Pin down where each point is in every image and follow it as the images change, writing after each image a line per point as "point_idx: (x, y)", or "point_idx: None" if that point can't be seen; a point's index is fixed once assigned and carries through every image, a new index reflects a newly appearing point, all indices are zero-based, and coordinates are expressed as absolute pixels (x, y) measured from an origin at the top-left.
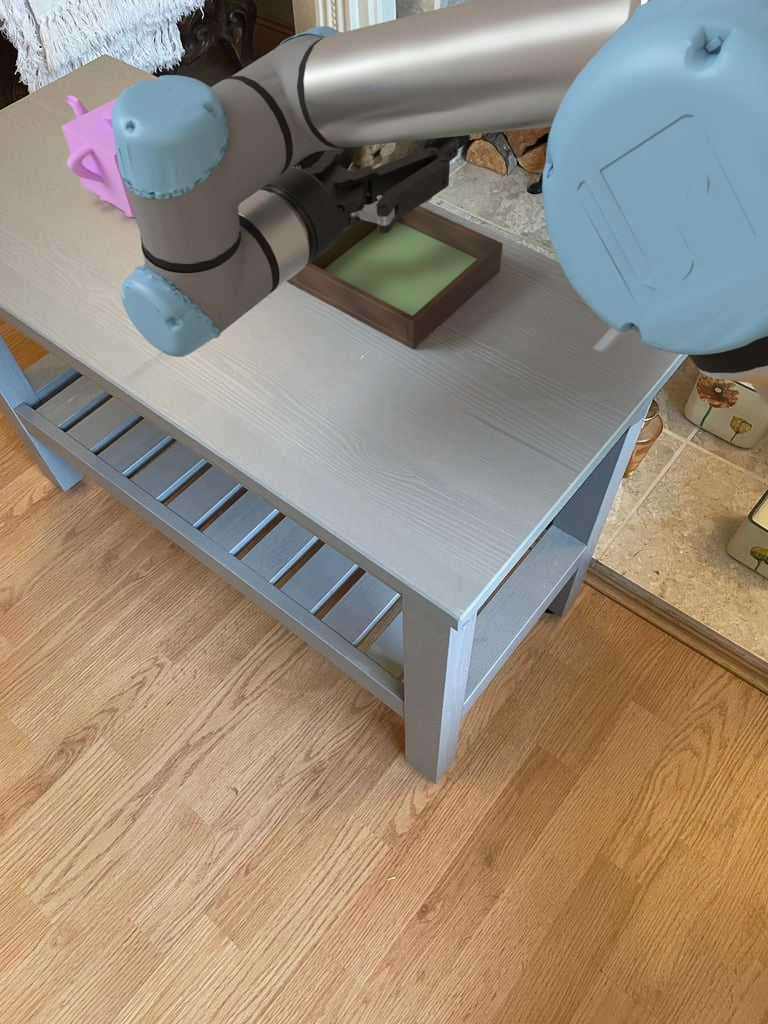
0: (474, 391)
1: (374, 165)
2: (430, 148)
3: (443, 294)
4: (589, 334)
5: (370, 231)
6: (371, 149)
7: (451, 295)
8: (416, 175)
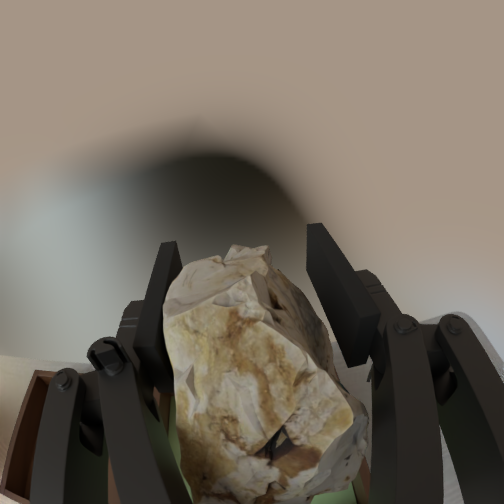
0: (459, 490)
1: (291, 477)
2: (400, 324)
3: (363, 459)
4: None
5: (167, 426)
6: (239, 442)
7: None
8: (494, 412)
